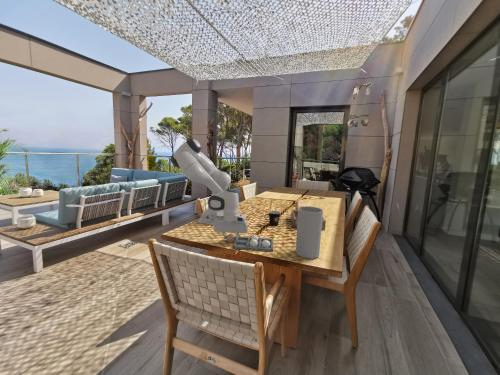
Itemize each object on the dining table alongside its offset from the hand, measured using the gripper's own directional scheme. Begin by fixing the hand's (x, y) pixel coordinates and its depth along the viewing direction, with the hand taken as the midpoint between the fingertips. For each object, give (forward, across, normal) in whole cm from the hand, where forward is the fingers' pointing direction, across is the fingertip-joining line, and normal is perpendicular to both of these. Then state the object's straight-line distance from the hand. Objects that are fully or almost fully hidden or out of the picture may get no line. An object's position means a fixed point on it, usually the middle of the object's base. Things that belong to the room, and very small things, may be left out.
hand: (230, 238), depth 133 cm
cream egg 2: (+1, +14, -6) cm, 16 cm away
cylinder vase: (+2, +44, -9) cm, 45 cm away
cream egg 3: (+1, +21, -6) cm, 22 cm away
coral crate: (+2, +52, +45) cm, 69 cm away
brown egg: (+2, 0, 0) cm, 2 cm away
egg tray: (+2, +14, -3) cm, 15 cm away
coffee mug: (+2, +25, +37) cm, 45 cm away
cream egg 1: (+1, +14, +1) cm, 14 cm away
